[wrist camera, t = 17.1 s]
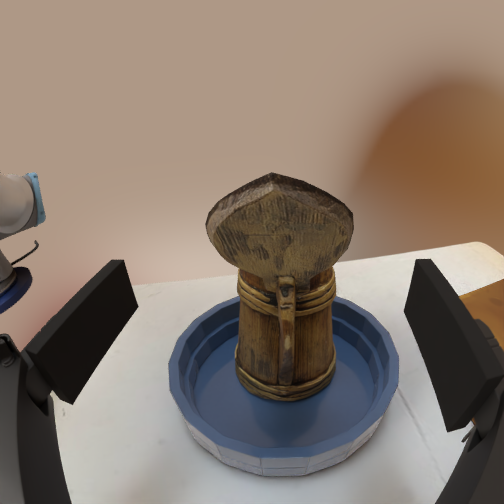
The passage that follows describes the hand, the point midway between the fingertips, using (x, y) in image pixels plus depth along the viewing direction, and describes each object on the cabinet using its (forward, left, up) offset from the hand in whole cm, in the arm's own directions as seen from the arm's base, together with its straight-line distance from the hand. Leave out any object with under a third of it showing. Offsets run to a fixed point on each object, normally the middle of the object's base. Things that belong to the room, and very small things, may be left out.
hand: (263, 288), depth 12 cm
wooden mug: (-4, +4, -13) cm, 14 cm away
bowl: (-4, +4, -14) cm, 15 cm away
